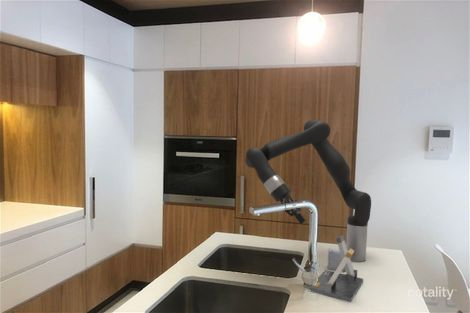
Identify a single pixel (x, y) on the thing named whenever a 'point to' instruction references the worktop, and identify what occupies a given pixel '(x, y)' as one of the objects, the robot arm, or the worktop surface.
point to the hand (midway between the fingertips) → (303, 222)
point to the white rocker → (341, 266)
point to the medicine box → (334, 259)
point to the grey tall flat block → (343, 252)
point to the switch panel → (338, 285)
